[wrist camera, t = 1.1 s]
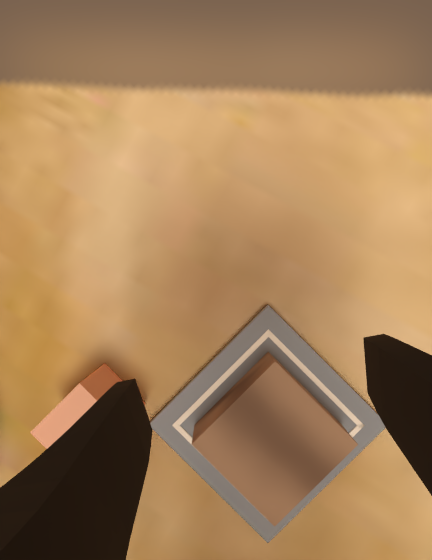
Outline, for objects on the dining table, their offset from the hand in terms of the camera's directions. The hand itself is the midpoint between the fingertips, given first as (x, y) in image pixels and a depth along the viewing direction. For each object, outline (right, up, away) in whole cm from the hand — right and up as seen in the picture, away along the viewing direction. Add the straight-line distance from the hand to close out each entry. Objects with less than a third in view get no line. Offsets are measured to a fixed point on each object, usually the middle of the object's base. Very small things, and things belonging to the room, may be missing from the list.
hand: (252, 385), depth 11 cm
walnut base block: (+3, -8, +15) cm, 18 cm away
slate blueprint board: (+3, -8, +16) cm, 18 cm away
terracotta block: (-10, -6, +16) cm, 20 cm away
